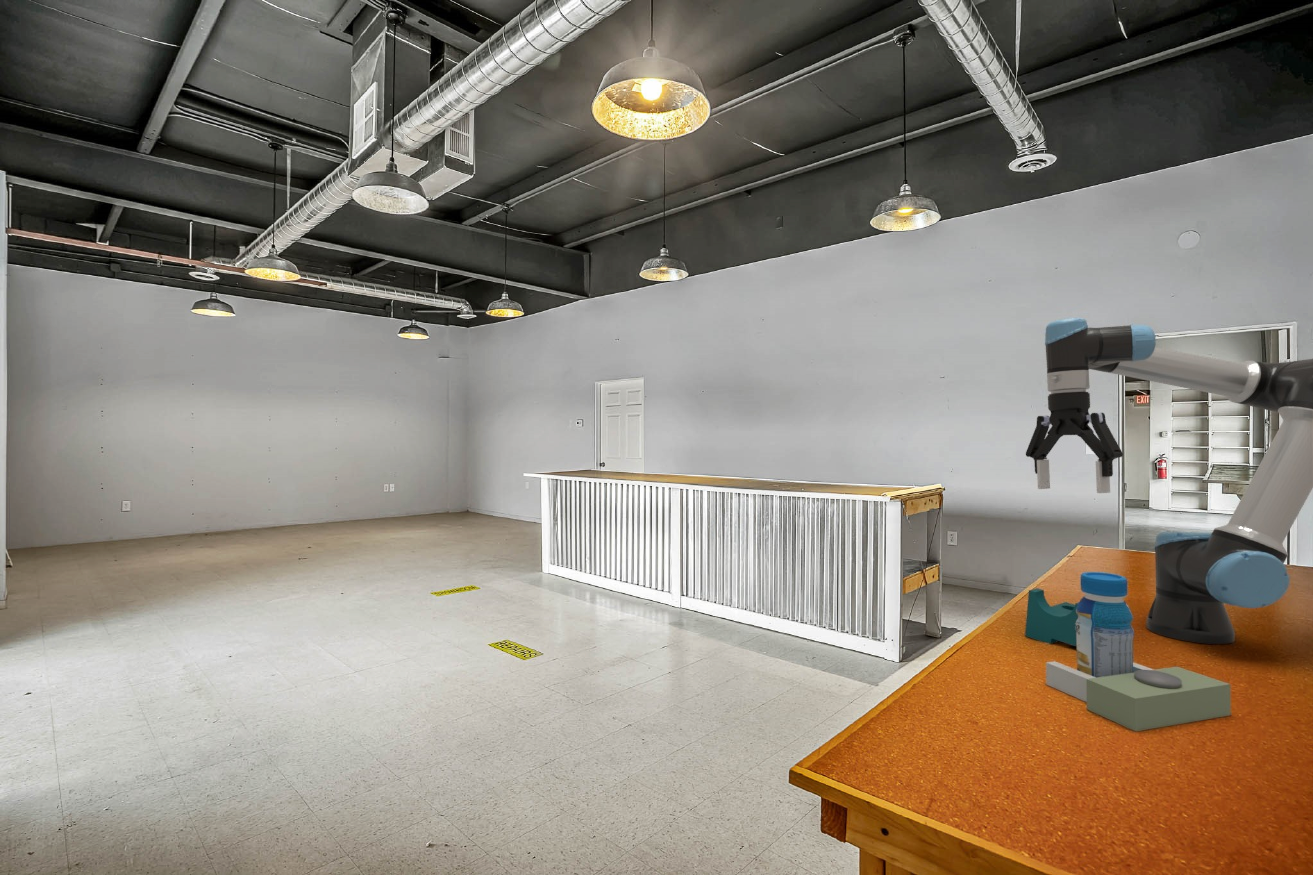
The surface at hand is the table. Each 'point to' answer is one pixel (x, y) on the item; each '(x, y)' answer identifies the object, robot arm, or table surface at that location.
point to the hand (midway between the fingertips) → (1072, 490)
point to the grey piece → (1145, 695)
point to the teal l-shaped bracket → (1050, 620)
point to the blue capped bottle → (1104, 626)
